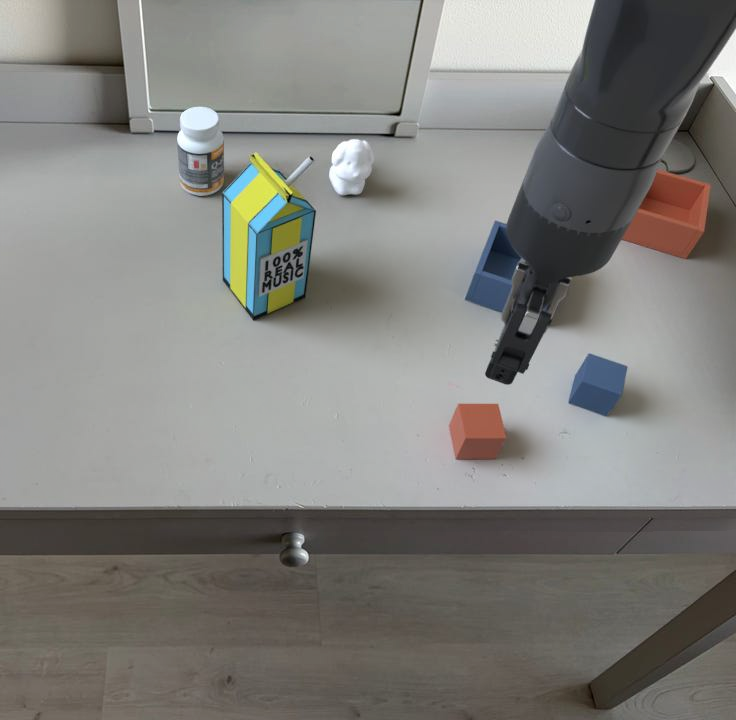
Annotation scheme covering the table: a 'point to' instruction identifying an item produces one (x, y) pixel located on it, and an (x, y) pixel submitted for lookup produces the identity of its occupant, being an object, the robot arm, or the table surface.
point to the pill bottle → (200, 151)
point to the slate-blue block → (598, 384)
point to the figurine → (351, 166)
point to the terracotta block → (477, 431)
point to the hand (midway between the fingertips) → (510, 340)
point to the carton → (266, 238)
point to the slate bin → (494, 271)
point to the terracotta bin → (671, 215)
